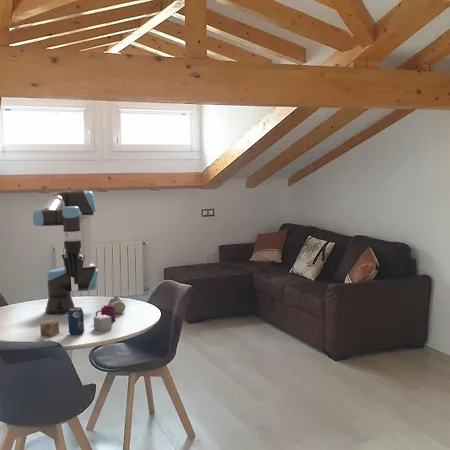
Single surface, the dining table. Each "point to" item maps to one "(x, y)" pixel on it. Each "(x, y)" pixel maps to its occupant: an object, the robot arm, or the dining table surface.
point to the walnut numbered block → (49, 328)
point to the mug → (108, 312)
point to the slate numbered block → (102, 323)
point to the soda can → (76, 321)
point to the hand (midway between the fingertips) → (74, 290)
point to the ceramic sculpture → (116, 305)
